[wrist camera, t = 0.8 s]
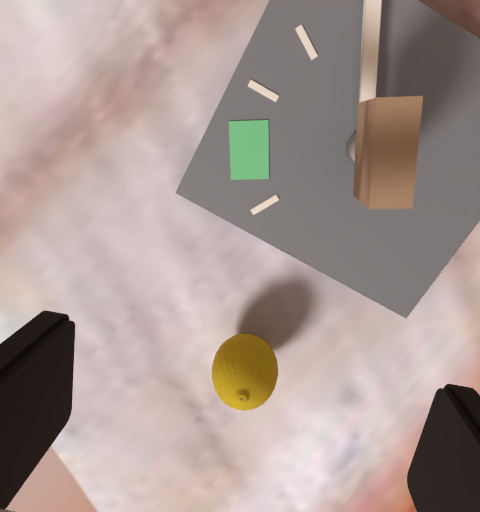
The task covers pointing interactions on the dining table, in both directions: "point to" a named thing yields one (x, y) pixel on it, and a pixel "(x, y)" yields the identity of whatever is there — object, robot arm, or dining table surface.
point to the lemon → (244, 371)
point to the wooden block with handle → (382, 131)
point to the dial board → (335, 140)
